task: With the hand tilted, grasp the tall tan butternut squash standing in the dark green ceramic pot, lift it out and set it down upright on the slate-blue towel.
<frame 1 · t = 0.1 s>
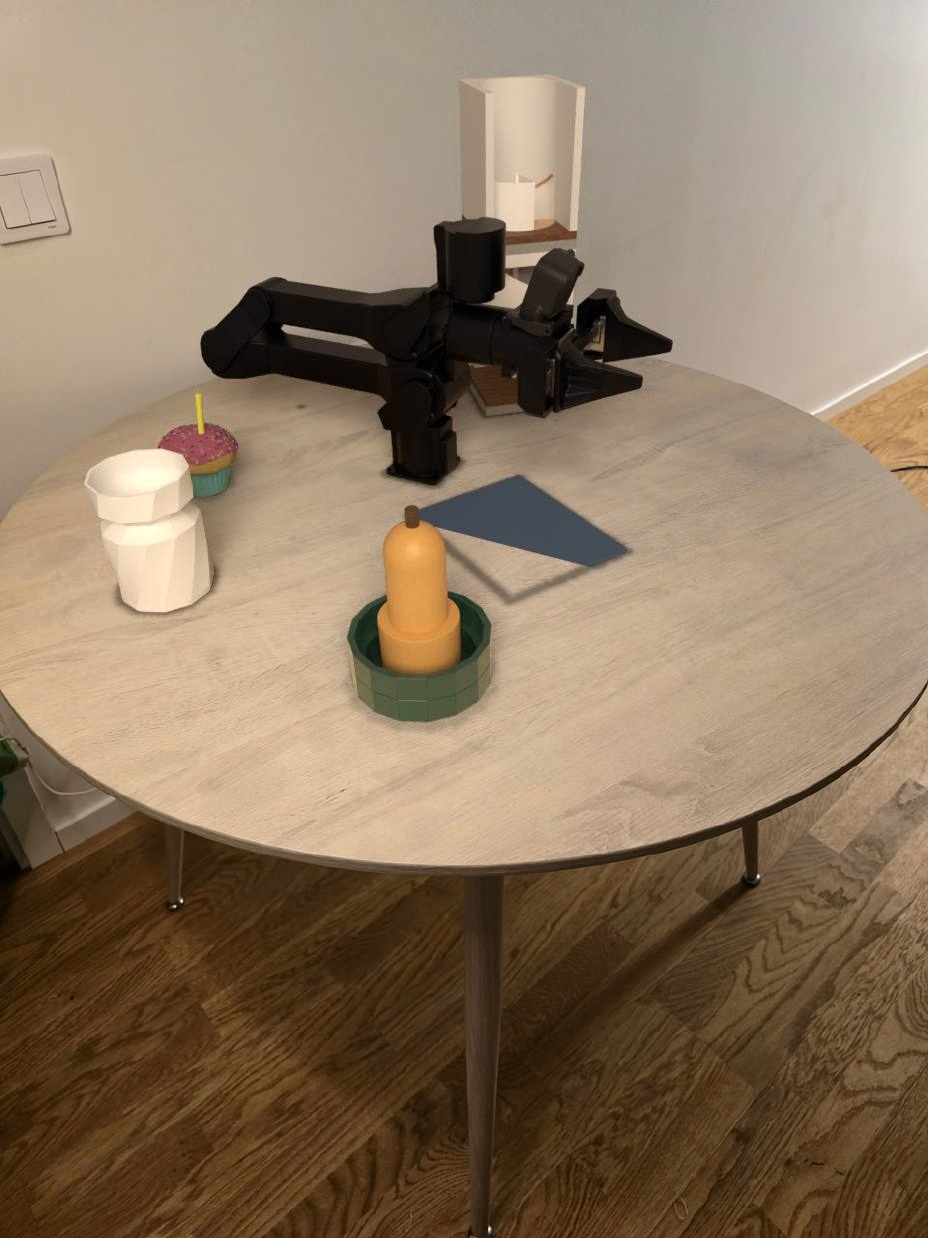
hand: (657, 363, 79), 17 cm above the table, tool horizontal, fingers open, 9 cm apart
white tower: (514, 394, 114), on the table
towel: (515, 533, 87), on the table
pot: (422, 677, 71), on the table
squash: (422, 673, 70), resting on pot
cupcake: (206, 488, 96), on the table
vase: (169, 586, 82), on the table
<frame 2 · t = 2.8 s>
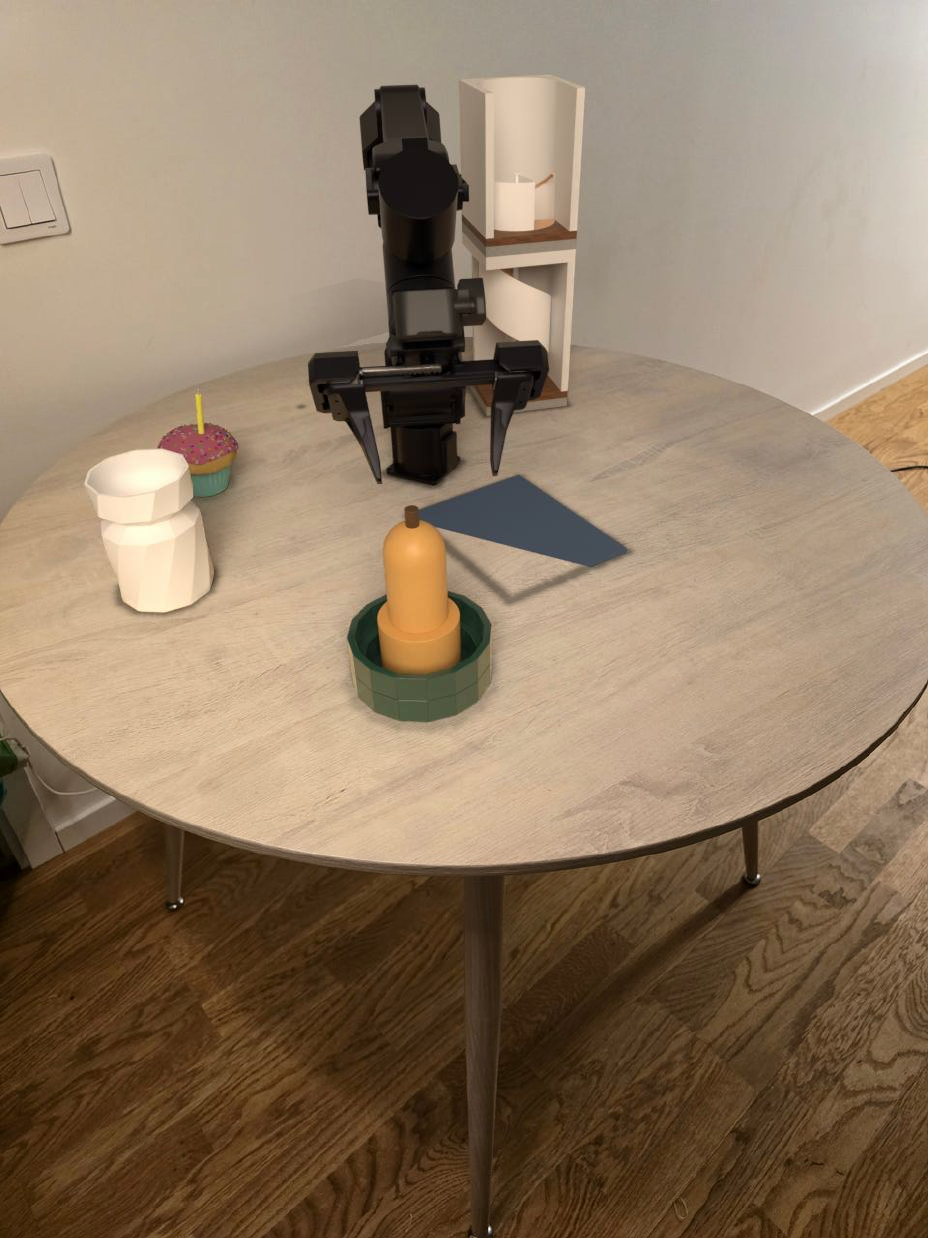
hand: (437, 478, 68), 14 cm above the table, tool tilted 50°, fingers open, 9 cm apart
nothing on the table moved.
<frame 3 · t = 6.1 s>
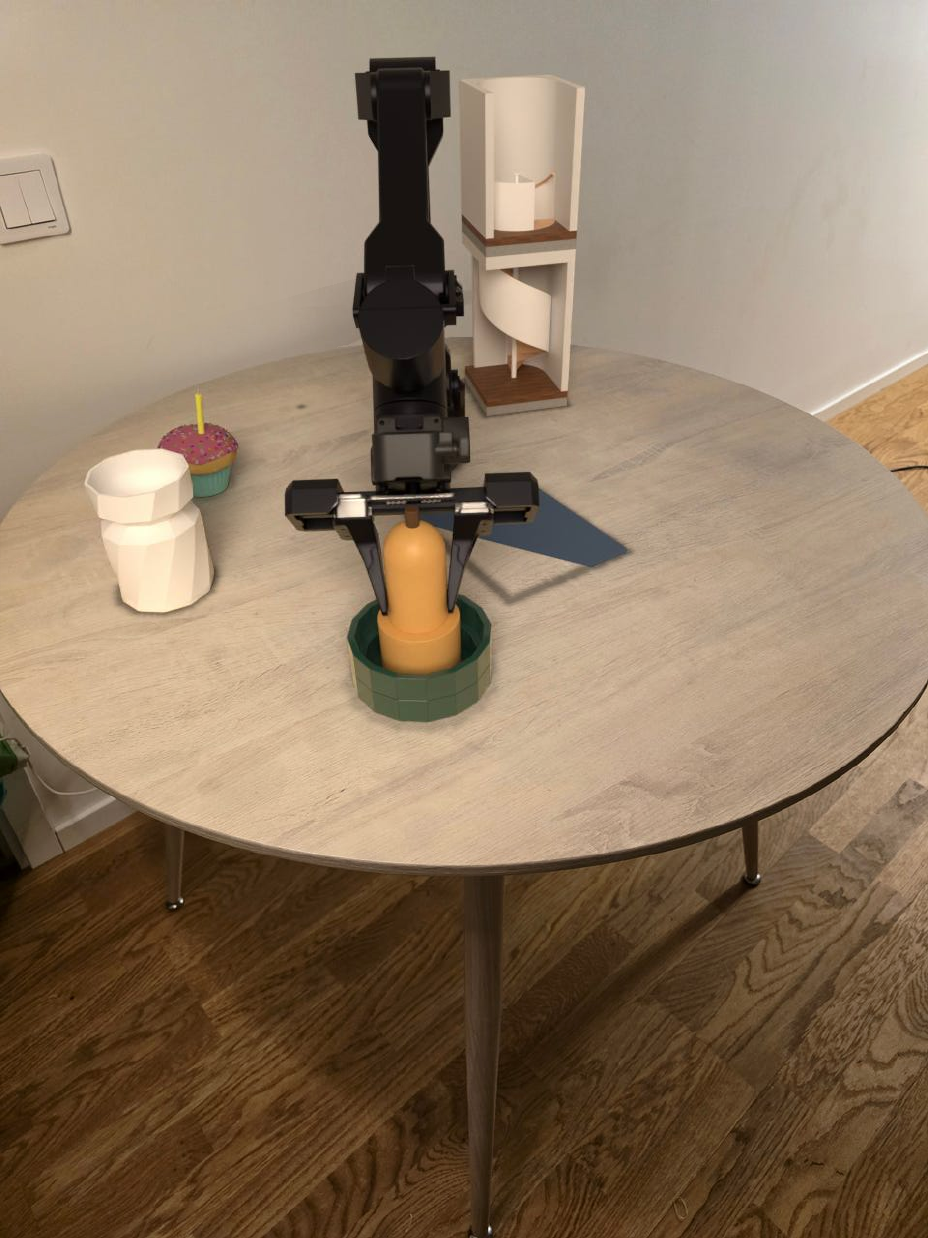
hand: (417, 614, 65), 8 cm above the table, tool tilted 45°, fingers closed on squash, 4 cm apart
squash: (422, 673, 70), point 1 cm above the table, touching gripper, pot
everything else where it was.
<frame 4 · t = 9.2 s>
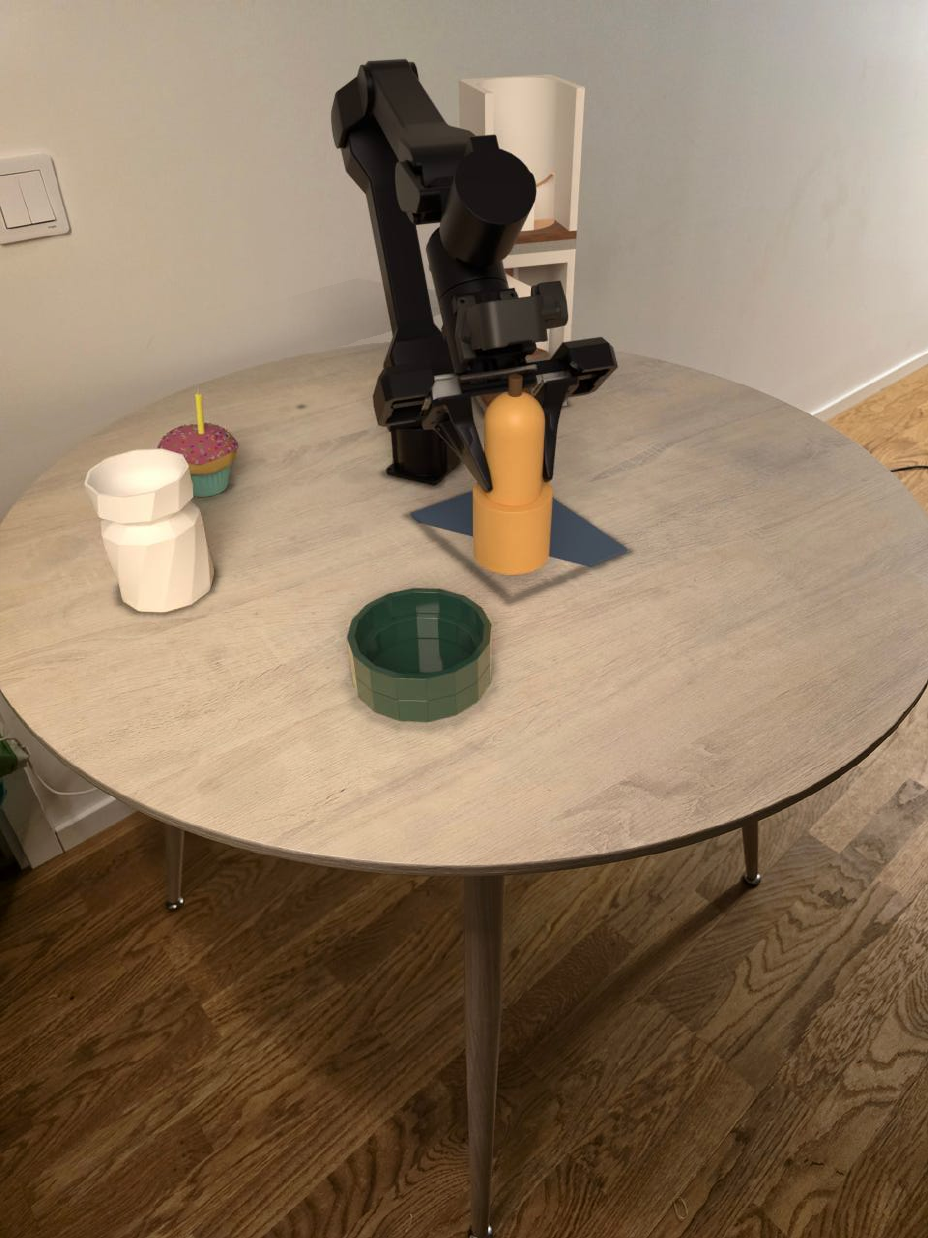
hand: (518, 486, 67), 14 cm above the table, tool tilted 45°, fingers closed on squash, 4 cm apart
squash: (511, 552, 73), point 7 cm above the table, touching gripper
everything else where it was.
when the fingers open (8 cm above the table, at t = 12.5 s): squash stays where it is, resting on towel.
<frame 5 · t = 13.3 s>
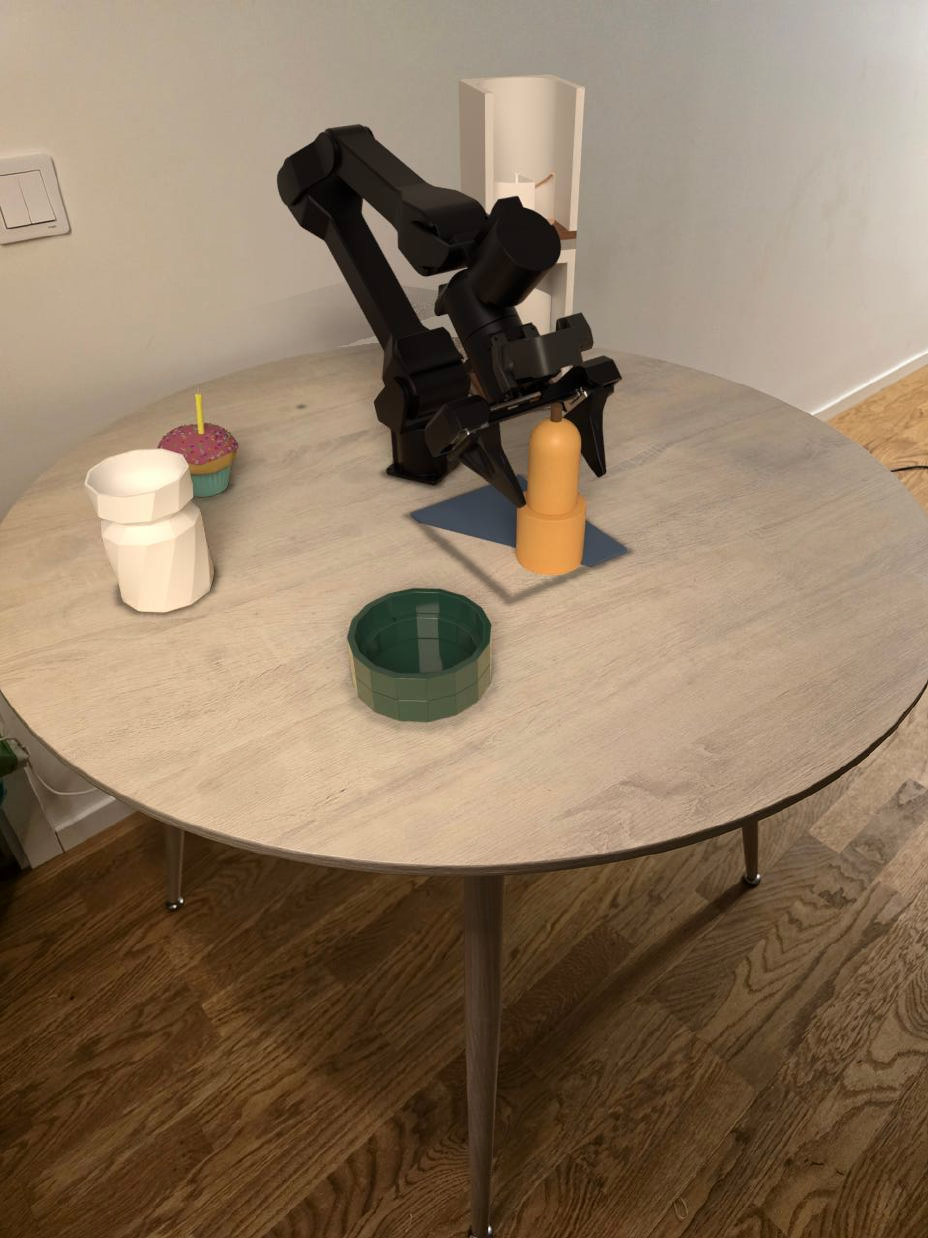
hand: (563, 490, 77), 8 cm above the table, tool tilted 45°, fingers open, 9 cm apart
squash: (549, 556, 83), resting on towel
everything else where it was.
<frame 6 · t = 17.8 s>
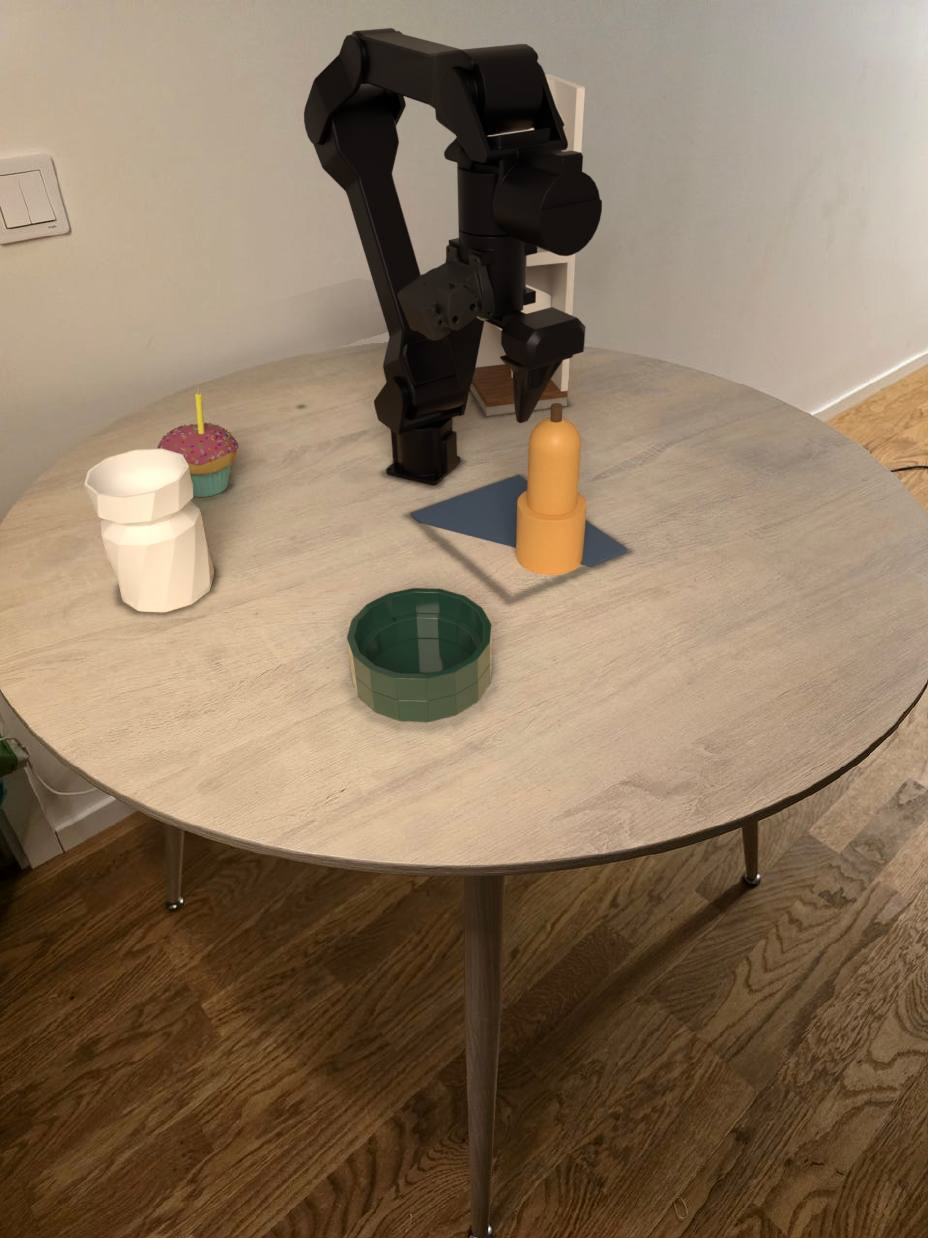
hand: (492, 404, 81), 13 cm above the table, tool pointing down, fingers open, 9 cm apart
nothing on the table moved.
at the end: squash inside the target area on the towel (3.0 cm from its centre), point 0.4 cm above the towel's base; squash moved 20.3 cm from its start; squash tilted 0° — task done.
